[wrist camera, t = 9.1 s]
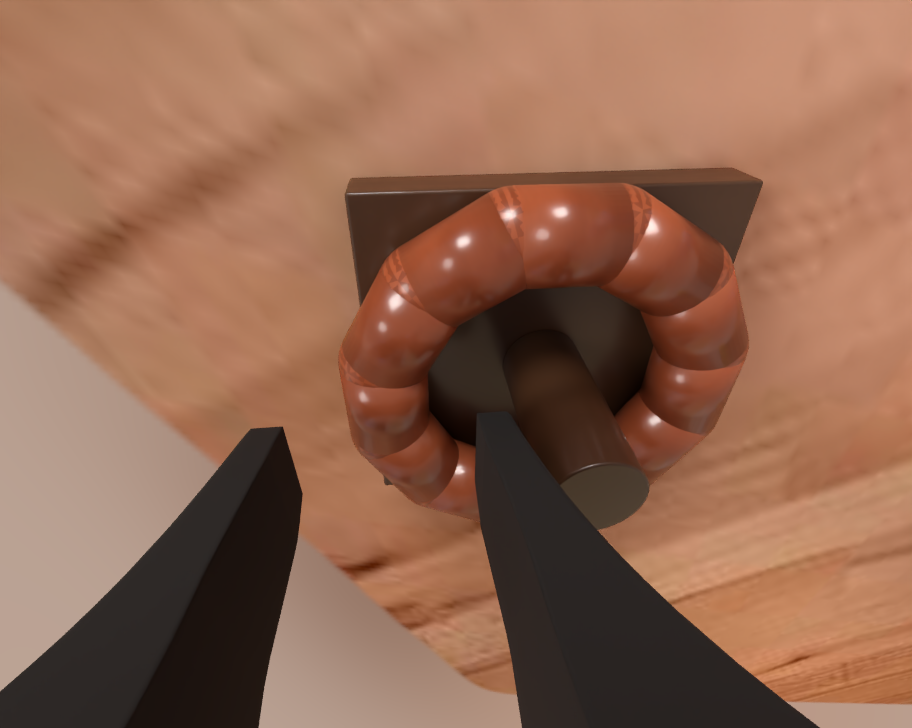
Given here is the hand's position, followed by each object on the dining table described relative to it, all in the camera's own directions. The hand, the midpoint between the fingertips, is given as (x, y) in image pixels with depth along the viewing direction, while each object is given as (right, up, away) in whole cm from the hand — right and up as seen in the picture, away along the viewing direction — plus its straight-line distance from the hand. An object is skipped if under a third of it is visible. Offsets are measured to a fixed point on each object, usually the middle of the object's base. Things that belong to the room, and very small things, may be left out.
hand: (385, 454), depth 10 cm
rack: (+4, +3, +4) cm, 6 cm away
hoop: (+4, +1, +2) cm, 4 cm away
